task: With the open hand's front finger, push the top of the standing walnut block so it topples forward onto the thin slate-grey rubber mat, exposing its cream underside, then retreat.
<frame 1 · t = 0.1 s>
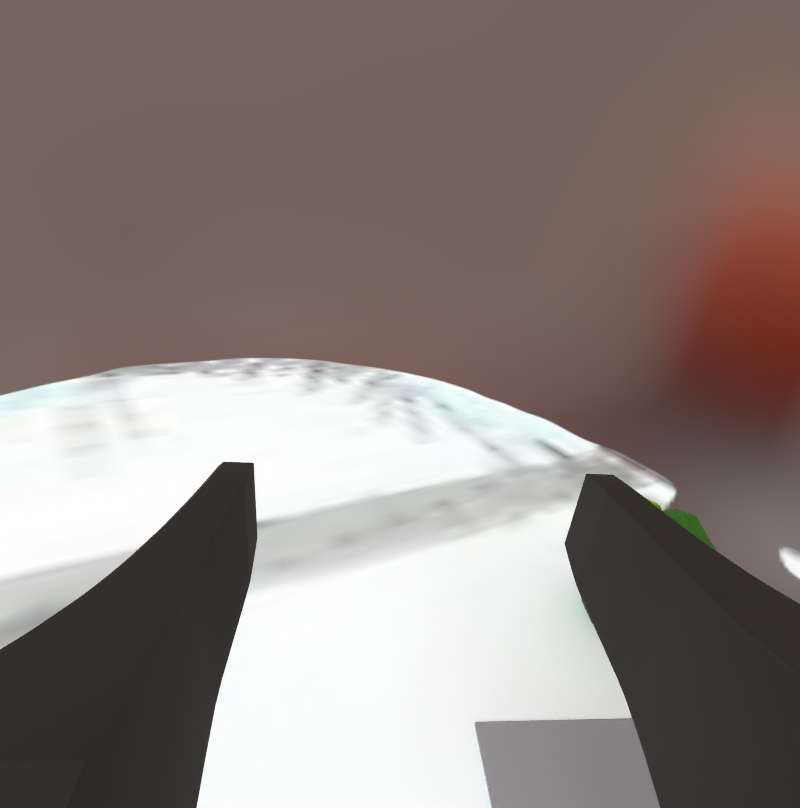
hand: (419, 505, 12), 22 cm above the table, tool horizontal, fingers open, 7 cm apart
bell pepper: (619, 615, 39), on the table
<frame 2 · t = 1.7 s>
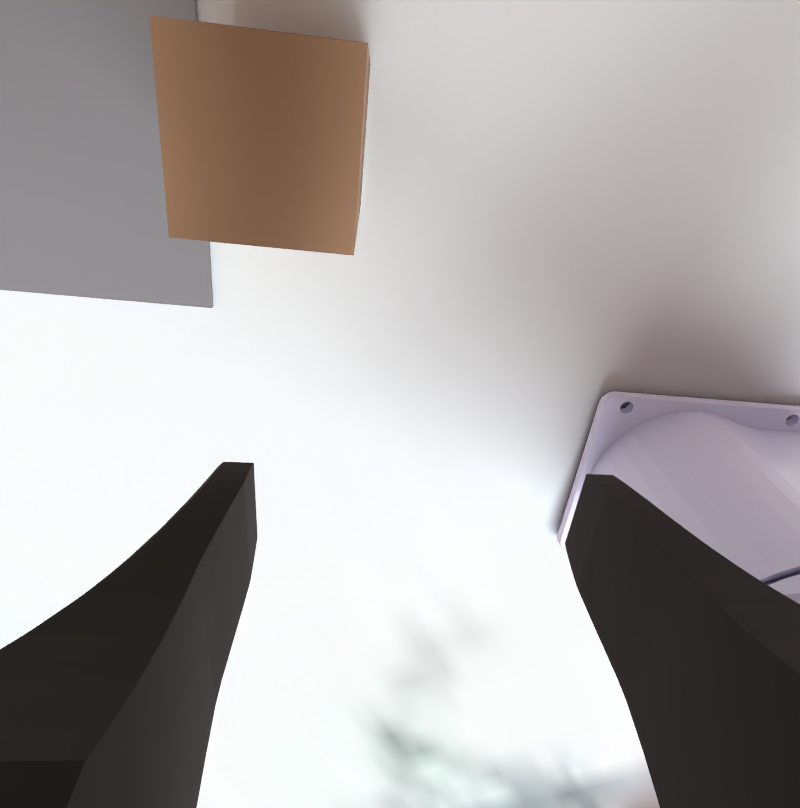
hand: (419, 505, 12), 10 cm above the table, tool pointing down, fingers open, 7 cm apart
walnut block: (301, 130, 17), on the table
slate mat: (32, 99, 17), on the table
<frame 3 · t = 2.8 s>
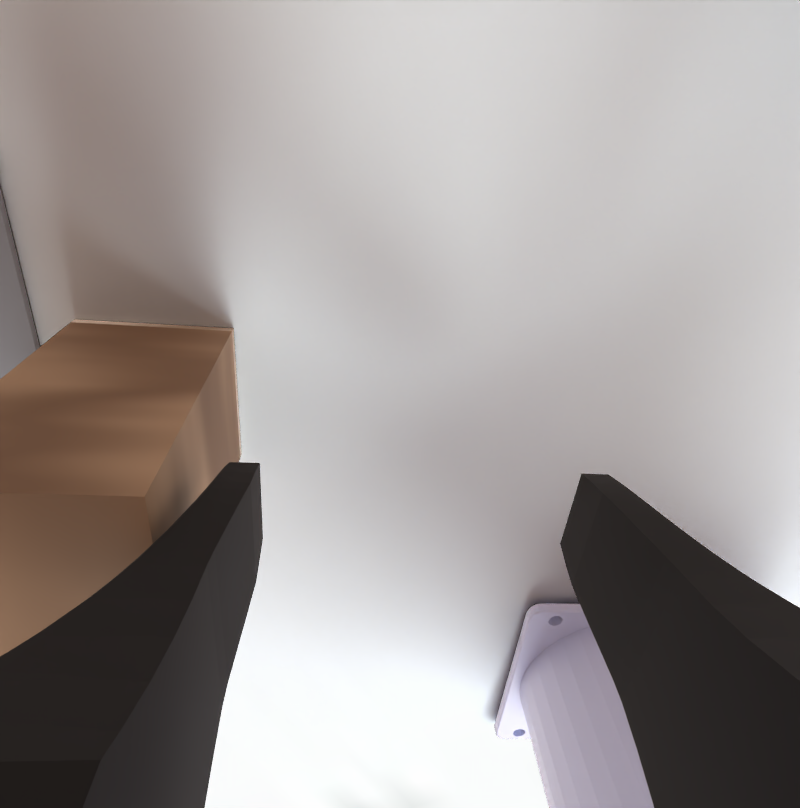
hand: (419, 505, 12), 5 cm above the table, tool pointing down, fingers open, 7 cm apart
walnut block: (164, 391, 15), on the table, touching gripper
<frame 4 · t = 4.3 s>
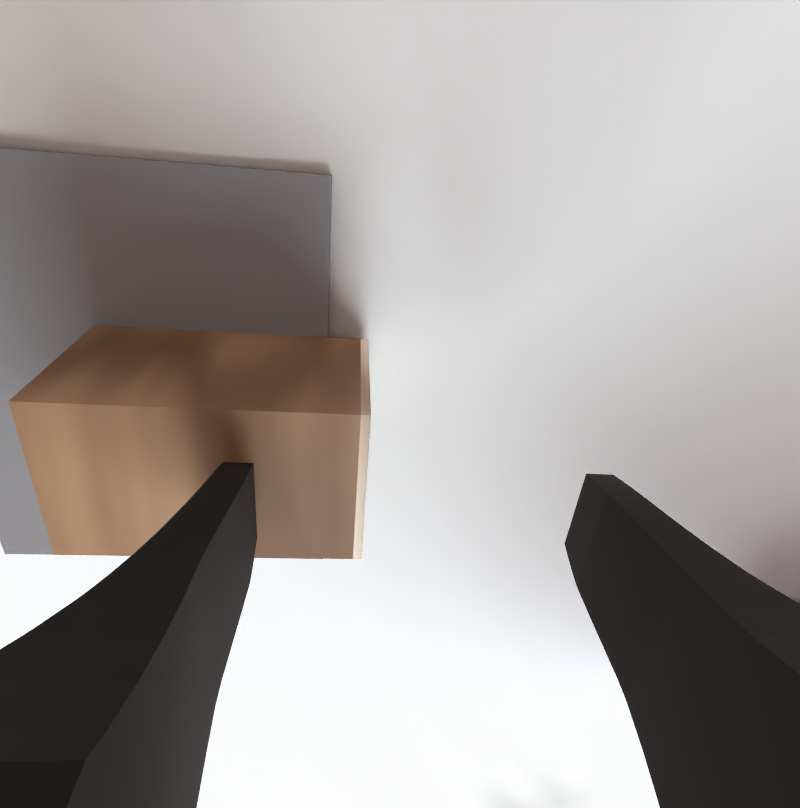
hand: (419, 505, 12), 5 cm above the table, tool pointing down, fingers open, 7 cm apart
walnut block: (364, 443, 14), point 2 cm above the table, tilted 90°, touching slate mat
slate mat: (144, 391, 15), on the table
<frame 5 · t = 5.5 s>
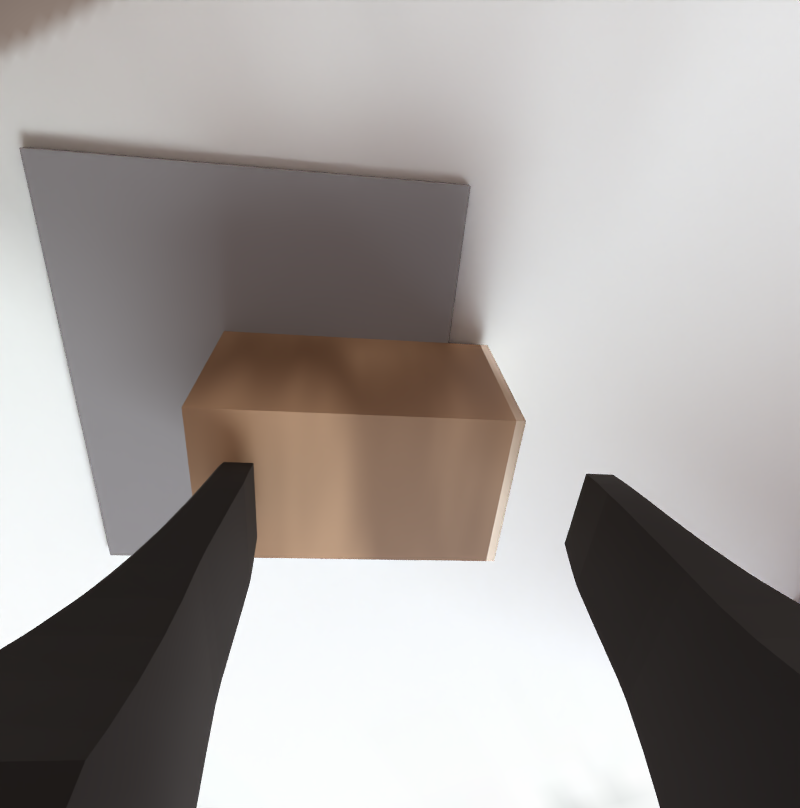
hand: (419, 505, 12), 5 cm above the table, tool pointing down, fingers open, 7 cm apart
walnut block: (490, 447, 14), point 2 cm above the table, tilted 90°, touching slate mat
slate mat: (263, 395, 16), on the table
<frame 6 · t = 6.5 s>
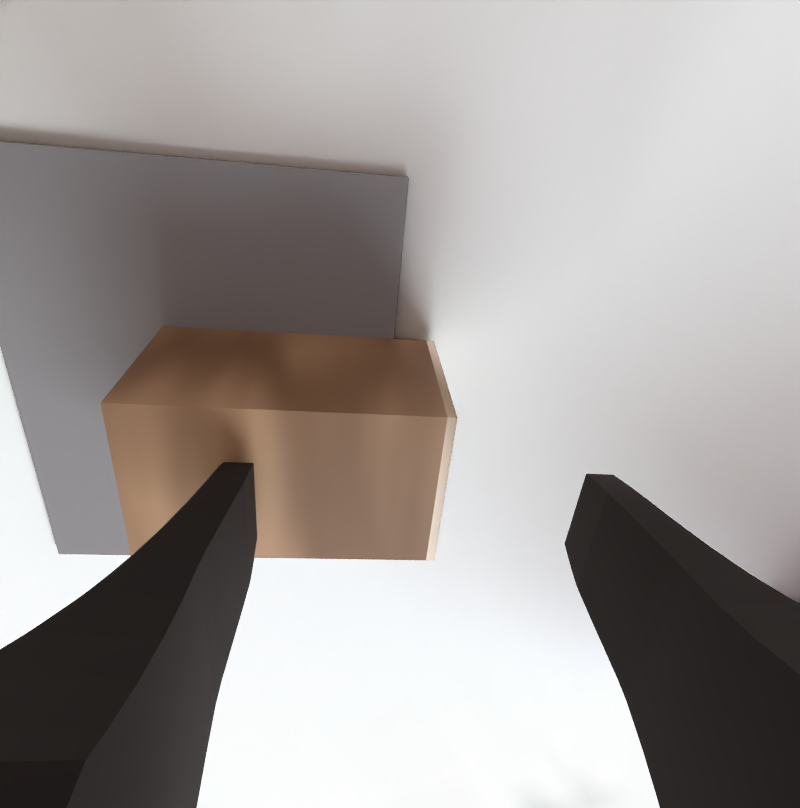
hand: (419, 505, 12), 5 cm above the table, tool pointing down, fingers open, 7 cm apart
walnut block: (434, 444, 14), point 2 cm above the table, tilted 90°, touching slate mat
slate mat: (207, 392, 15), on the table
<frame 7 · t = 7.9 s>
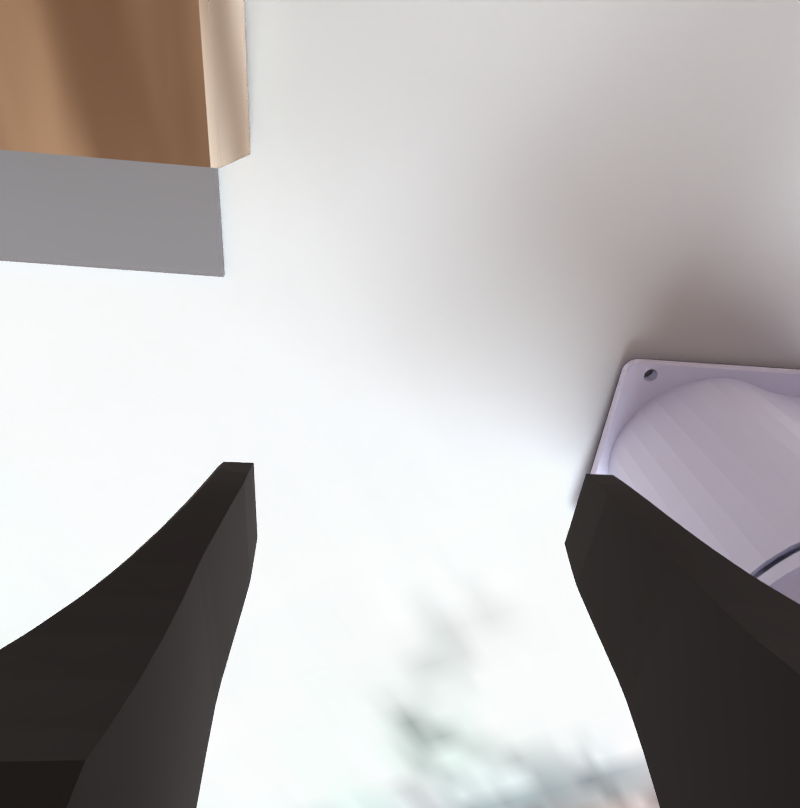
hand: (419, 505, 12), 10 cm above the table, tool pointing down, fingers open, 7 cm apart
walnut block: (232, 78, 15), point 2 cm above the table, tilted 90°, touching slate mat
slate mat: (36, 59, 16), on the table
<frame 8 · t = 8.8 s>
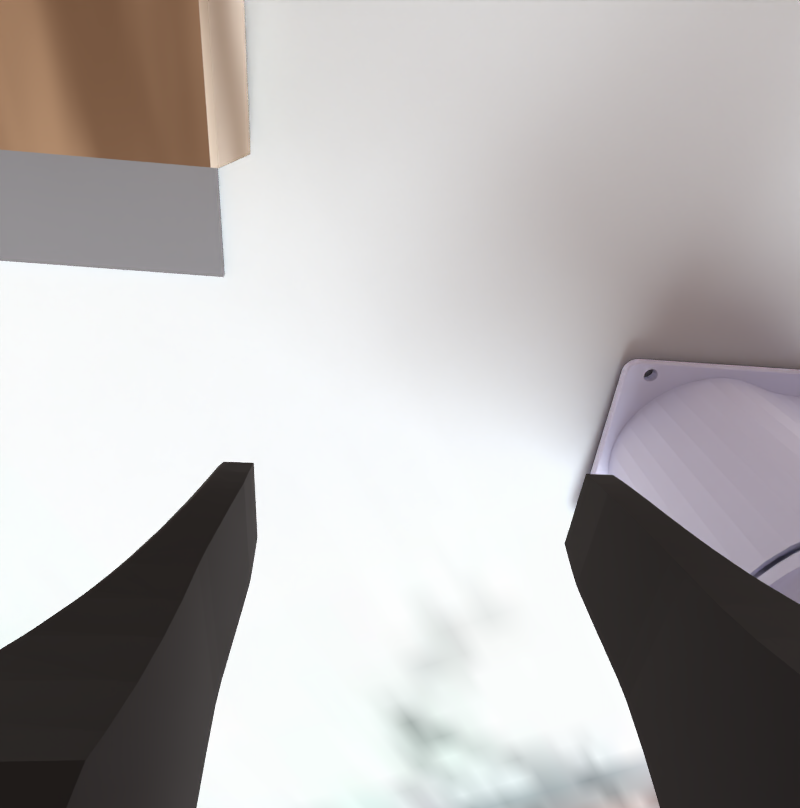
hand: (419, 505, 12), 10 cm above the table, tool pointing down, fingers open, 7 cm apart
walnut block: (232, 78, 15), point 2 cm above the table, tilted 90°, touching slate mat
slate mat: (36, 59, 16), on the table
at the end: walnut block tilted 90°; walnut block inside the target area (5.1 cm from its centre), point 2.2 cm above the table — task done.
